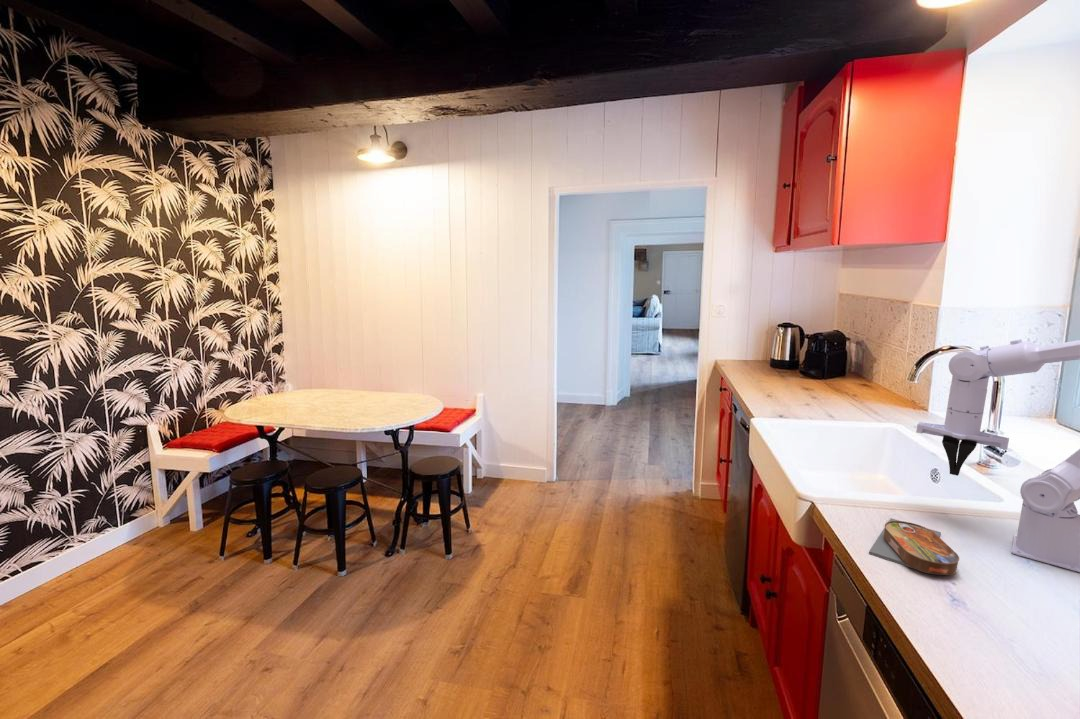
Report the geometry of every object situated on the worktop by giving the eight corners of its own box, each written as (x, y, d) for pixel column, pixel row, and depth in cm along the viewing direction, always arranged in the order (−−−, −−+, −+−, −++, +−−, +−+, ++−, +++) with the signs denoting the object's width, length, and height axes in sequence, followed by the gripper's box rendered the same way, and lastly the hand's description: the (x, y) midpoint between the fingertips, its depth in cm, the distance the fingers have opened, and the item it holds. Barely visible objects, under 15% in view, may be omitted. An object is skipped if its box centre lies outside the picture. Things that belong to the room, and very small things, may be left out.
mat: (940, 534, 105) (940, 532, 105) (924, 571, 92) (924, 569, 92) (890, 520, 111) (890, 518, 111) (868, 553, 98) (869, 551, 98)
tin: (970, 566, 89) (914, 557, 90) (965, 583, 89) (910, 573, 91) (925, 523, 103) (877, 515, 105) (921, 537, 104) (874, 530, 105)
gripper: (917, 406, 108) (908, 469, 111) (1011, 421, 99) (999, 490, 101) (923, 399, 113) (914, 460, 116) (1013, 414, 104) (1001, 479, 106)
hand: (954, 473), depth 109 cm, fingers closed
